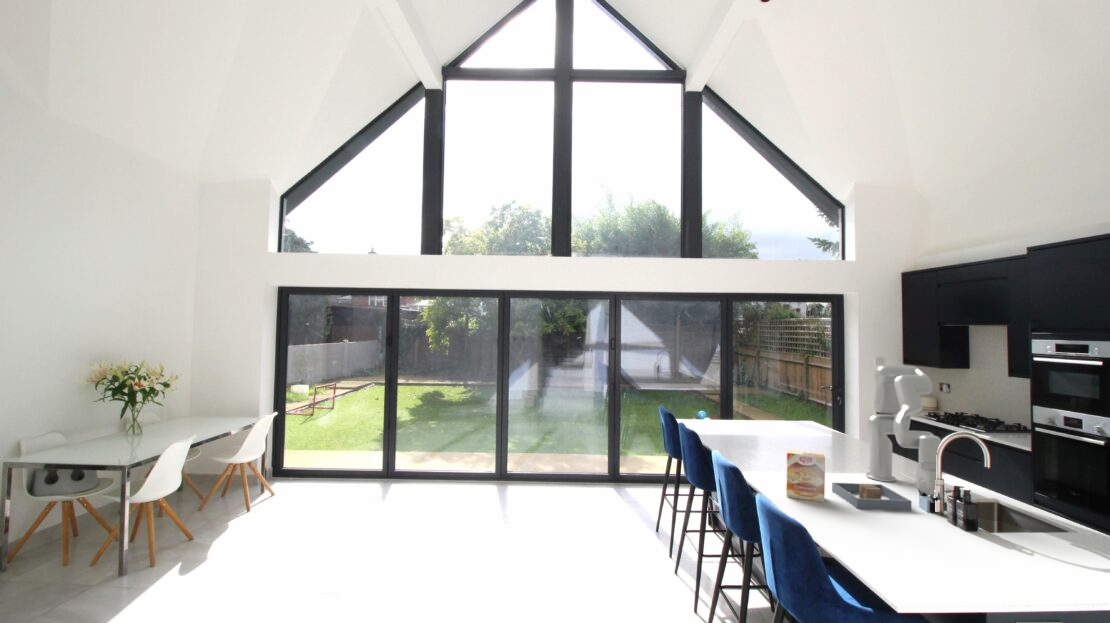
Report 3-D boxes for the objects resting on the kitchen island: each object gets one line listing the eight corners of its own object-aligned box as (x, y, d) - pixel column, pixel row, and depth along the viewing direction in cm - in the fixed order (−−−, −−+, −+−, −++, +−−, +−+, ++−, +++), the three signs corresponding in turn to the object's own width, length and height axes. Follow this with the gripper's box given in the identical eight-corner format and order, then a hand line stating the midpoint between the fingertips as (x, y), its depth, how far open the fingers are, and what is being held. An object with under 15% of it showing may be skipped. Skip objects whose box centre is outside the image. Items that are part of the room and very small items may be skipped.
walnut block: (859, 498, 226) (859, 484, 226) (873, 498, 226) (873, 484, 226) (866, 502, 220) (866, 488, 220) (881, 503, 220) (881, 489, 220)
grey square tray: (832, 491, 234) (832, 482, 234) (881, 493, 233) (881, 484, 233) (857, 508, 213) (857, 498, 213) (911, 510, 211) (911, 501, 211)
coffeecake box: (786, 497, 225) (786, 452, 225) (785, 492, 231) (786, 449, 232) (824, 502, 219) (825, 456, 219) (823, 497, 226) (823, 452, 226)
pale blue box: (919, 507, 215) (919, 495, 215) (931, 508, 215) (931, 496, 215) (926, 512, 210) (927, 500, 210) (939, 512, 210) (939, 500, 210)
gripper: (907, 459, 222) (906, 501, 221) (934, 471, 205) (933, 516, 204) (925, 460, 221) (925, 502, 221) (953, 471, 204) (953, 517, 204)
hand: (929, 508), depth 213 cm, fingers open, 5 cm apart
